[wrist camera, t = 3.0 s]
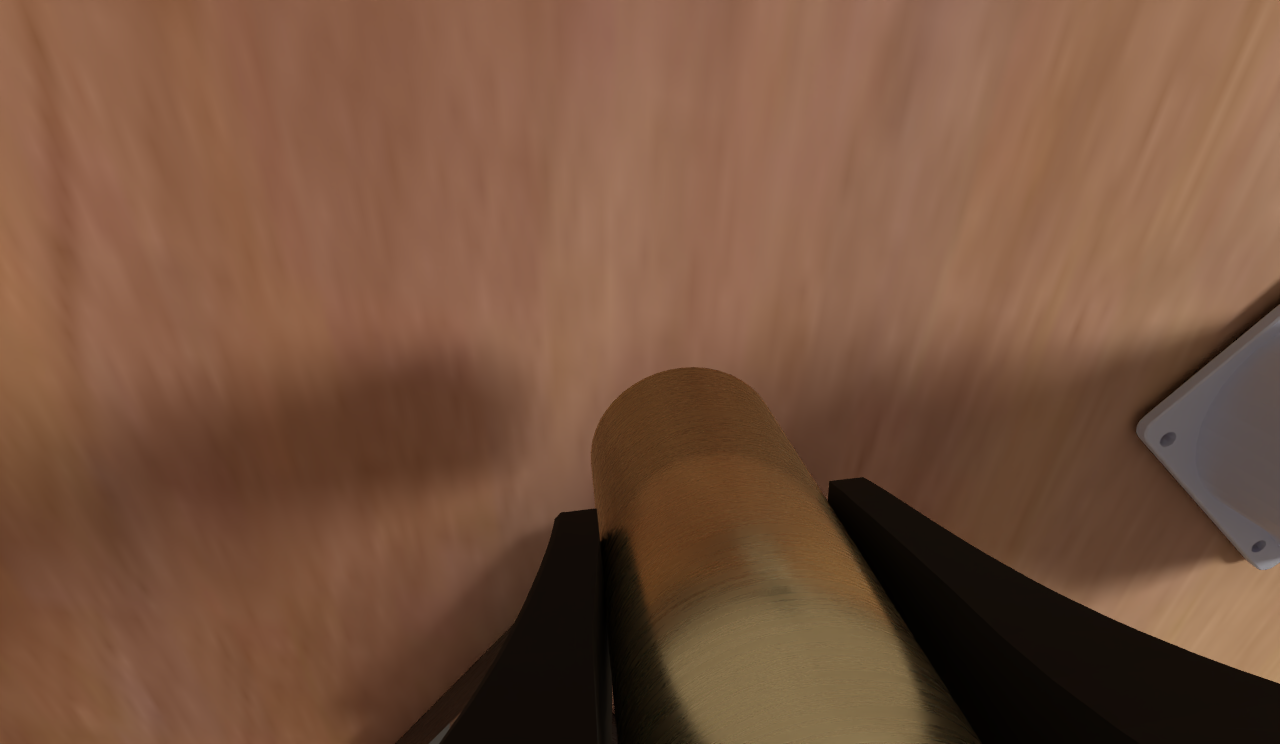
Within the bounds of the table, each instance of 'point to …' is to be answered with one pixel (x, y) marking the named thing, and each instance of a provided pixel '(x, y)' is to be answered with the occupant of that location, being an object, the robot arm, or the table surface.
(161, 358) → the table surface
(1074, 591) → the table surface
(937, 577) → the robot arm
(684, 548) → the brass pin
